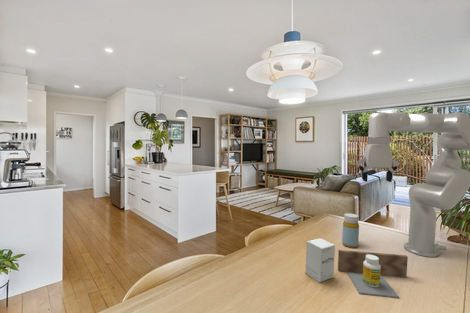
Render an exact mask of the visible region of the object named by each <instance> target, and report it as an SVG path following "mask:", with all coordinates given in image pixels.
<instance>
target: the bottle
mask: <svg viewBox="0 0 470 313" xmlns="http://www.w3.org/2000/svg"><path fill="white" fill-rule="evenodd" d="M343 215H344V218H343V223H342V238H341V239H342V240H341V241H342V245H343V246H345V247H347V248H350V249H356V248H357V247H359V235H360V234H359V233H360V225H359V215H358V214H355V213H350V212H349V213H348V212H346V213H344V214H343Z"/></svg>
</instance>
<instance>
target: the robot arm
mask: <svg viewBox="0 0 470 313" xmlns="http://www.w3.org/2000/svg"><path fill="white" fill-rule="evenodd" d="M390 132H404V133H405V132H407V133H430V134H431V133H432V134H433V133H434V134H435V133H436V134H440V135H439V137H437V141H436V143H437V149H438V153H439V154H438V157H437V160H436V161H435V162H434V163H433V165H431V167H430V168H429V169H428V171H427V172H426V174H425V176H424V180H425V182H426V183H423V182H422V183H421V182H420V183H419V182H417V183H414V184H412V185H411V186H410V187H409V189H408V200H409V208H410V210H409V226H408V242H406V243H404V244H403V248H404V249H405V250H406V251H408V252H410V253H412V254H414V255H418V256H422V257H426V258H428V257H429V258H436V257H438V256H439V250H442V251H446V250H447V246H446V245H444V244H443V245H441V244H439V243H437V242H435V239H436V228H437V227H436V225H437V212H436V211H435V209H440V210H444V211H449V210H451V209H453V208H454V207H456V206H457V204H458V203H459V202H460V201H461V199H463V196H465V194H466V193H467V191H468V190H469V189H470V171H468V170H466V169H464V168H461V166H462V158H461V157H460V155H459V153H458V151H466V152H467V151H470V115H469V114H467V113H466V112H452V113H430V112H429V113H428V112H427V113H426V112H419V113H406V112H402V111H397V112H372V113H370V114H369V117H368V134H367V136H368V138H367V140H368V142H367V144H365V148H364V152H363V158H362V159H359V160H357V161H355V164H356V166H357V168H358V169H359V170H360V171H361V179H362V181H364V182H368V179H369V178H368V176H369V175H368V171H369V170H370V169H386V173H385V176H386V177H385V178H386V179H385V180H386V182H389V183H390V182H391V183H392V181H393V176H394V172H395V171H396V170H397V169H398V167H399V165H400V164H401V162H399V161H397V160H395V159H393V155H392V148H391V145H390V143H392V142H393V139H392V138H390ZM441 133H442V134H441ZM392 164H393V165H392ZM362 165H363V166H362Z"/></svg>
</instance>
